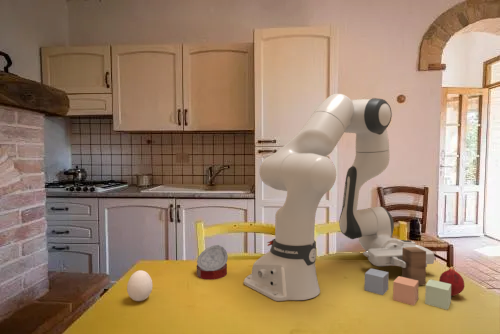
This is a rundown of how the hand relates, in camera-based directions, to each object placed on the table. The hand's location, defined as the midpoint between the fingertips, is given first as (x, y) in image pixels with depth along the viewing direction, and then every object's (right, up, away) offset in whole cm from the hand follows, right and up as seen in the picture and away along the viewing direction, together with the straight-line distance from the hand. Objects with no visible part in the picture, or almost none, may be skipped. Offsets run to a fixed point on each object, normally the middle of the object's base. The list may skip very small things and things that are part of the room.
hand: (415, 265), depth 93 cm
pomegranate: (+6, -6, -8) cm, 11 cm away
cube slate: (-13, -6, -4) cm, 15 cm away
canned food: (-62, -6, +9) cm, 63 cm away
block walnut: (0, -6, +1) cm, 6 cm away
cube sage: (0, -6, -12) cm, 13 cm away
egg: (-79, -7, -10) cm, 79 cm away
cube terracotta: (-8, -6, -9) cm, 14 cm away
